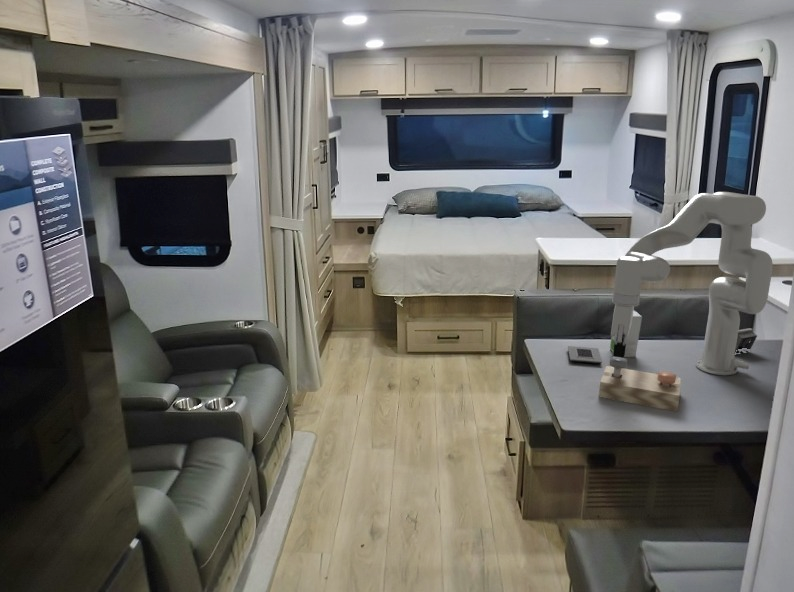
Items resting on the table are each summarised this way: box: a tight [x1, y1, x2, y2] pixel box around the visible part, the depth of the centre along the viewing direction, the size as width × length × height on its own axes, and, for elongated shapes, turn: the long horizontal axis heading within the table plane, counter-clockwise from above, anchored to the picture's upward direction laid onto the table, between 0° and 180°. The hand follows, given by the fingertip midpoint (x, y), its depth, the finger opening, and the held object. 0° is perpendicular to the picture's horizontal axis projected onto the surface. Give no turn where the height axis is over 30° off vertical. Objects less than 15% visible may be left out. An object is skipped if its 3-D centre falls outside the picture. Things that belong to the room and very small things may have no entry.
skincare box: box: [609, 310, 643, 358], centre depth 228 cm, size 8×7×16 cm
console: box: [598, 365, 682, 412], centre depth 195 cm, size 22×14×5 cm, turn 66°
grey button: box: [609, 356, 628, 378], centre depth 197 cm, size 5×5×6 cm
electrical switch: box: [735, 327, 758, 352], centre depth 230 cm, size 9×5×9 cm, turn 113°
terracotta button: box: [657, 371, 677, 386], centre depth 192 cm, size 5×5×6 cm
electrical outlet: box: [567, 345, 603, 365], centre depth 225 cm, size 13×10×2 cm
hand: (618, 356), depth 195 cm, fingers closed
